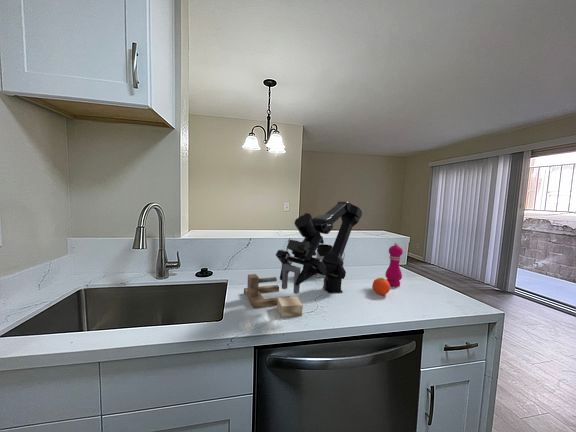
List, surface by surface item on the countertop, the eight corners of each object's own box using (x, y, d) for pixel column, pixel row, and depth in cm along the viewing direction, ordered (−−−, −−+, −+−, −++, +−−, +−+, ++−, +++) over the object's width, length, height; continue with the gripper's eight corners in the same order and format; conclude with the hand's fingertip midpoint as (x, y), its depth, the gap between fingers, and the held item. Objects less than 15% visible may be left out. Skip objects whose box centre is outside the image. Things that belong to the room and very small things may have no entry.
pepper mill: (384, 285, 118) (387, 242, 116) (384, 281, 125) (388, 240, 123) (401, 288, 115) (405, 244, 114) (400, 283, 122) (404, 242, 120)
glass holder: (315, 271, 134) (316, 243, 133) (342, 274, 131) (344, 245, 130) (313, 276, 126) (315, 246, 124) (343, 280, 123) (345, 249, 122)
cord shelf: (277, 289, 106) (278, 268, 105) (290, 303, 93) (292, 279, 93) (243, 293, 101) (244, 270, 100) (253, 308, 88) (254, 282, 87)
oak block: (296, 306, 91) (297, 296, 91) (302, 315, 84) (302, 305, 84) (277, 307, 89) (277, 297, 89) (281, 316, 83) (281, 306, 82)
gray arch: (284, 287, 89) (285, 263, 88) (299, 292, 85) (300, 267, 84) (281, 288, 88) (282, 264, 87) (296, 293, 84) (297, 268, 83)
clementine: (372, 289, 112) (373, 273, 112) (389, 292, 110) (390, 275, 109) (371, 295, 105) (372, 278, 104) (389, 298, 102) (391, 281, 102)
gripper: (280, 227, 94) (256, 262, 86) (323, 234, 82) (300, 276, 74) (292, 246, 100) (271, 280, 93) (334, 255, 88) (314, 295, 81)
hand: (288, 282), depth 85 cm, fingers closed on gray arch, 6 cm apart
